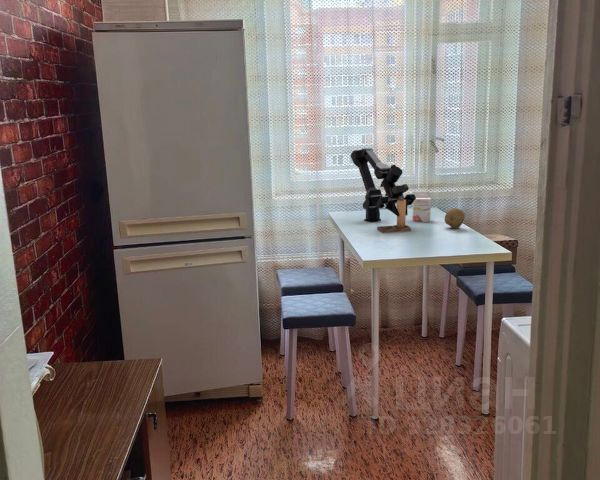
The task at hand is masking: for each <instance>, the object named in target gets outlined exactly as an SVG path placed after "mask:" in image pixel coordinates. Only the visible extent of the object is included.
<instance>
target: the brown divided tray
mask: <svg viewBox="0 0 600 480" xmlns="http://www.w3.org/2000/svg"><path fill="white" fill-rule="evenodd" d="M376 230H377V231H379V232H380V233H381V234H388V233H401V232H412V231H411V230H412V227H411V226H408V225H406V224H405V228H397V224H395V225H382V226H377V227H376Z"/></svg>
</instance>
